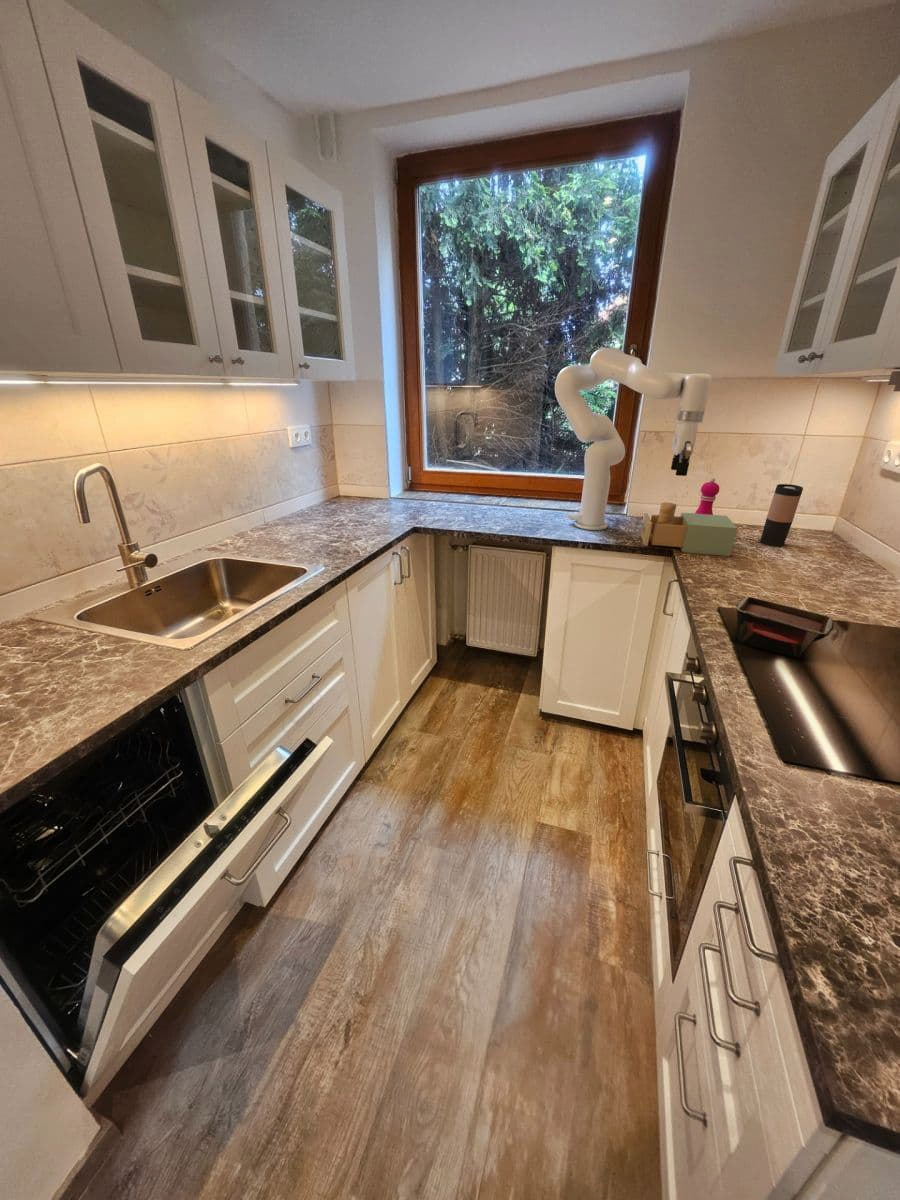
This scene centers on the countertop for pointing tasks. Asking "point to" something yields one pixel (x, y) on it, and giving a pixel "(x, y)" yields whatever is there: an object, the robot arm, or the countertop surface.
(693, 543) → the cabinet
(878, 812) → the countertop surface
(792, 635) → the baking dish
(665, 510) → the cork textured cylinder
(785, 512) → the travel mug
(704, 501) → the pepper mill
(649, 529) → the drawer
